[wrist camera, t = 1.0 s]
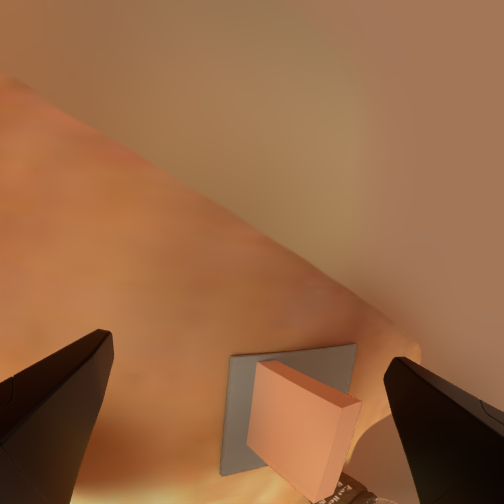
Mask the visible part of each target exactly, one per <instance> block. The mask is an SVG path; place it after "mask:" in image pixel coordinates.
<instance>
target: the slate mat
mask: <svg viewBox="0 0 504 504" xmlns="http://www.w3.org/2000/svg"><path fill="white" fill-rule="evenodd" d="M356 349H357V344H355V343H354V344H348V345H341V346H334V347H326V348H318V349H309V350H300V351H290V352H279V353H267V354H253V355H235V356H231V357H230V367H229V377H228V388H227V398H226V409H225V420H224V431H223V442H222V453H221V465H220V475H221V476H227V475H231V474H236V473H240V472H245V471H249V470H253V469H257V468H260V467H264V466H268V464H266V463H265V462H264V461H263V460H262V459H261V458H260V457H259V456H258V455H257V454H256V453H255V452H254V451H253V450H252V449H251V448H250V447H249V446H248V445H247V436H248V429H249V421H250V413H251V405H252V397H253V389H254V381H255V373H256V365H257V362H261V361H272V360H277V361H279V362H281V363H283V364H285V365H286V366H288V367H290V368H292V369H294V370H296V371H298V372H300V373H302V374H305V375H307V376H309V377H311V378H313V379H315V380H317V381H319V382H321V383H323V384H325V385H328V386H330V387H332V388H334V389H336V390H338V391H341V392H343V393H345V394H347V395H348V391H349V386H350V381H351V376H352V371H353V366H354V361H355V355H356Z"/></svg>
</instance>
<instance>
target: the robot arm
mask: <svg viewBox="0 0 504 504" xmlns="http://www.w3.org/2000/svg"><path fill="white" fill-rule="evenodd" d="M113 359H114V349H113V337H112V333H111V332H110V331H107V330H102V329H97V330H95V331H93V332H91V333H90V334H88V335H86V336H84V337H82V338H80V339H79V340H77V341H75V342H73V343H71V344H70V345H68V346H66V347H64V348H62V349H60V350H59V351H57V352H55V353H53V354H51V355H50V356H48V357H46V358H44V359H42V360H41V361H39V362H37V363H35V364H33V365H31V366H30V367H28V368H26V369H24V370H22V371H21V372H19V373H17V374H15V375H14V376H13V377H10V378H8V379H6V380H4V381H3V382H1V383H0V504H70V500H71V496H72V493H73V489H74V486H75V482H76V479H77V476H78V472H79V469H80V466H81V463H82V460H83V457H84V453H85V450H86V447H87V444H88V442H89V439H90V436H91V433H92V430H93V427H94V424H95V422H96V419H97V416H98V413H99V411H100V408H101V405H102V402H103V398H104V395H105V390H106V386H107V383H108V379H109V375H110V371H111V367H112V364H113ZM384 385H385V389H386V392H387V396H388V400H389V404H390V408H391V412H392V416H393V419H394V422H395V425H396V428H397V431H398V433H399V437H400V439H401V442H402V445H403V449H404V452H405V455H406V457H407V461H408V464H409V467H410V470H411V474H412V477H413V480H414V484H415V487H416V491H417V494H418V498H419V502H420V504H504V412H503V411H501V410H499V409H497V408H495V407H493V406H491V405H489V404H487V403H485V402H483V401H482V400H479V399H478V398H476V397H475V396H473V395H471V394H469V393H467V392H466V391H464V390H462V389H460V388H459V387H457V386H455V385H453V384H452V383H450V382H448V381H446V380H445V379H442V378H441V377H439V376H437V375H436V374H434V373H432V372H430V371H429V370H427V369H425V368H423V367H422V366H420V365H418V364H417V363H415V362H413V361H411V360H410V359H408V358H406V357H395V358H393V359H392V361H391V363H390V365H389V367H388V369H387V371H386V373H385V374H384Z"/></svg>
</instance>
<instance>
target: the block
mask: <svg viewBox="0 0 504 504" xmlns="http://www.w3.org/2000/svg"><path fill="white" fill-rule="evenodd" d="M361 403H362V401H361V400H359V399H356V398H354V397H352V396H350V395H347V394H345V393H343V392H341V391H338V390H336V389H334V388H332V387H330V386H328V385H325V384H323V383H321V382H319V381H317V380H315V379H313V378H311V377H309V376H307V375H305V374H302V373H300V372H298V371H296V370H294V369H292V368H290V367H288V366H286V365H285V364H283V363H281V362H279V361H277V360H272V361H261V362H257V365H256V373H255V381H254V389H253V397H252V405H251V413H250V421H249V429H248V436H247V445H248V446H249V447H250V448H251V449H252V450H253V451H254V452H255V453H256V454H257V455H258V456H259V457H260V458H261V459H262V460H263V461H264V462H265V463H266V464H268V465H269V466H270V467H271V468H272V469H273V470H274V471H275V472H276V473H277V474H279V475H280V476H281V477H282V478H283V479H284V480H285V481H287V482H288V483H289V484H290V485H291V486H292V487H294V488H295V489H296V490H297V491H298V492H300V493H301V494H302V495H303V496H305V497H306V498H307V499H308V500H310V501H311V502H312V503H313V504H314V503H316V502H318V501H321V500H323V499H325V498H327V497H329V496H331V495H333V493H334V491H335V488H336V485H337V483H338V480H339V477H340V474H341V471H342V468H343V465H344V462H345V459H346V456H347V453H348V450H349V447H350V443H351V440H352V437H353V433H354V430H355V426H356V422H357V419H358V415H359V411H360V407H361Z"/></svg>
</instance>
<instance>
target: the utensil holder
mask: <svg viewBox="0 0 504 504" xmlns="http://www.w3.org/2000/svg"><path fill="white" fill-rule="evenodd" d="M309 501H310V500H309ZM376 501H377V496H376V495H374V494H373V493H372V492H368V491H367V488H366V487H365V486H364V485H363V484H361V483H360V482H358V481H357V480H355V479H353V478H352V477H350V476H348V475H346V474H345V473H343V472H341V474H340V477H339V480H338V483H337V485H336V488H335V491H334V493H333V495H331V496H329V497H327V498H325V499H323V500H321V501H318V502H316V503H314V504H375V503H376ZM310 503H311V504H313V503H312V502H311V501H310ZM395 504H396V503H395Z"/></svg>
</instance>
